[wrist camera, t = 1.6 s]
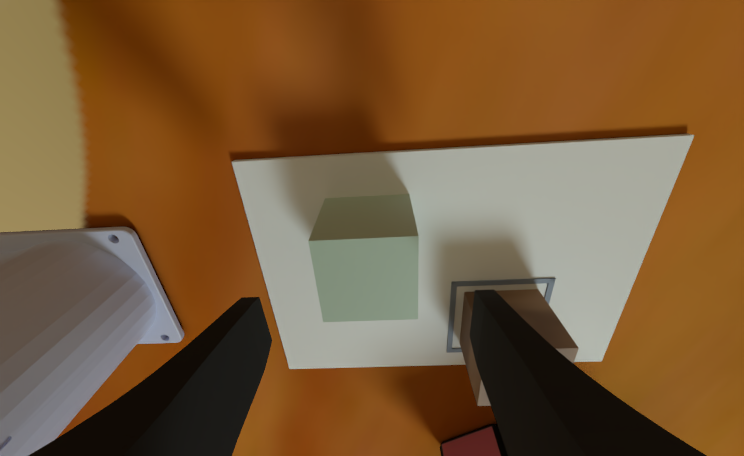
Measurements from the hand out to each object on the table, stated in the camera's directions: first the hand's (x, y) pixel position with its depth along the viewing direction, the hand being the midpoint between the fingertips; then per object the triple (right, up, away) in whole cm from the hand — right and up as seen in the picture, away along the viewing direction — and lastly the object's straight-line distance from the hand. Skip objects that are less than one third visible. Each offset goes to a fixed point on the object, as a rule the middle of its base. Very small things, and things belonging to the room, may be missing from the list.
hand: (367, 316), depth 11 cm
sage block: (0, +3, +5) cm, 6 cm away
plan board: (+4, 0, +7) cm, 8 cm away
